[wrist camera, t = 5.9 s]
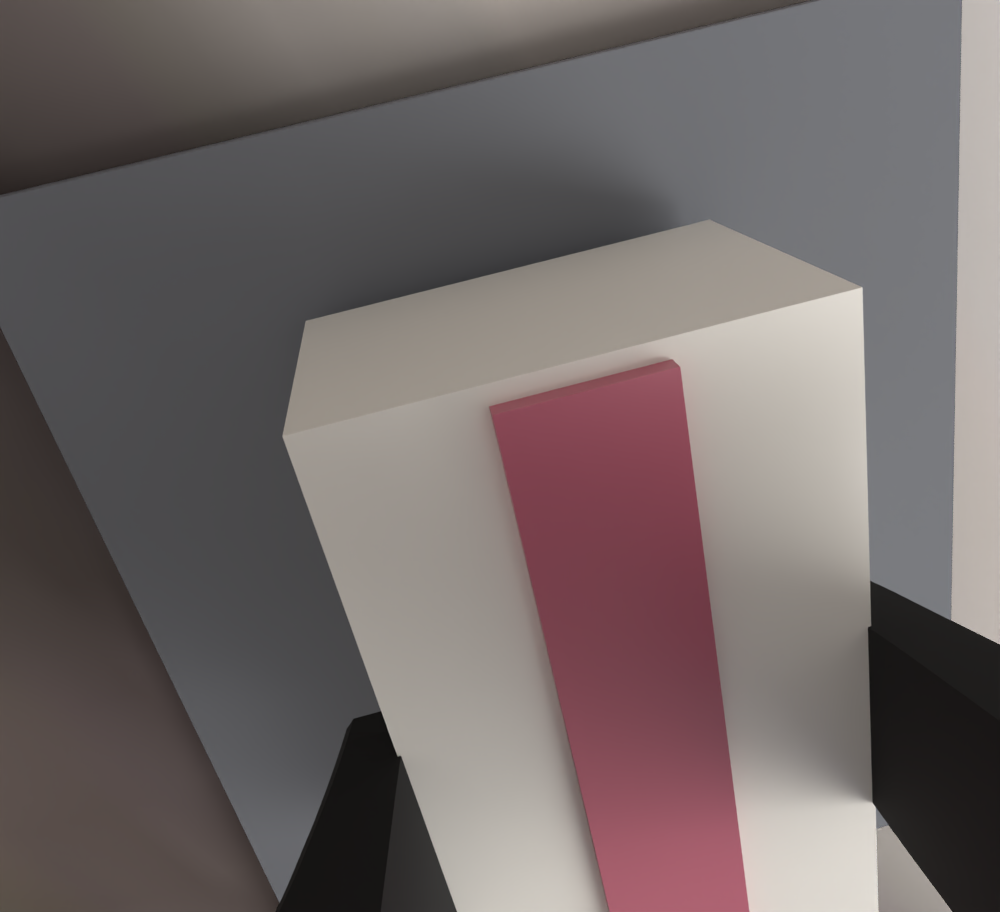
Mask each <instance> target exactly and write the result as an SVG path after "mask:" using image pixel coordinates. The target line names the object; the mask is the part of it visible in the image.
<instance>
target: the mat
mask: <svg viewBox="0 0 1000 912" xmlns="http://www.w3.org/2000/svg"><path fill="white" fill-rule="evenodd" d="M961 18H962V0H810V1H806V2H802V3H798V4H793V5H789V6H785V7H781V8H777V9H773V10H768V11H764V12H760V13H756V14H752V15H748V16H743V17H739V18H735V19H731V20H727V21H723V22H719V23H714V24H710V25H706V26H702V27H698V28H694V29H689V30H685V31H681V32H677V33H673V34H669V35H664V36H660V37H656V38H652V39H648V40H644V41H639V42H635V43H631V44H627V45H623V46H619V47H614V48H610V49H606V50H602V51H598V52H594V53H589V54H585V55H581V56H577V57H573V58H569V59H565V60H560V61H556V62H552V63H548V64H544V65H540V66H535V67H531V68H527V69H523V70H519V71H515V72H510V73H506V74H502V75H498V76H494V77H490V78H485V79H481V80H477V81H473V82H469V83H465V84H460V85H456V86H452V87H448V88H444V89H440V90H435V91H431V92H427V93H423V94H419V95H415V96H411V97H406V98H402V99H398V100H394V101H390V102H386V103H381V104H377V105H373V106H369V107H365V108H361V109H356V110H352V111H348V112H344V113H340V114H336V115H331V116H327V117H323V118H319V119H315V120H311V121H306V122H302V123H298V124H294V125H290V126H286V127H281V128H277V129H273V130H269V131H265V132H261V133H256V134H252V135H248V136H244V137H240V138H236V139H232V140H227V141H223V142H219V143H215V144H211V145H207V146H202V147H198V148H194V149H190V150H186V151H182V152H177V153H173V154H169V155H165V156H161V157H157V158H152V159H148V160H144V161H140V162H136V163H132V164H127V165H123V166H119V167H115V168H111V169H107V170H102V171H98V172H94V173H90V174H86V175H82V176H78V177H73V178H69V179H65V180H61V181H57V182H53V183H48V184H44V185H40V186H36V187H32V188H28V189H23V190H19V191H15V192H11V193H7V194H3V195H0V328H1V330H2V332H3V334H4V336H5V338H6V340H7V342H8V344H9V346H10V348H11V350H12V352H13V355H14V357H15V359H16V361H17V363H18V365H19V367H20V369H21V371H22V373H23V375H24V377H25V379H26V381H27V383H28V385H29V388H30V390H31V392H32V394H33V396H34V398H35V400H36V402H37V404H38V406H39V408H40V410H41V412H42V414H43V416H44V418H45V421H46V423H47V425H48V427H49V429H50V431H51V433H52V435H53V437H54V439H55V441H56V443H57V445H58V447H59V449H60V451H61V454H62V456H63V458H64V460H65V462H66V464H67V466H68V468H69V470H70V472H71V474H72V476H73V478H74V480H75V482H76V484H77V487H78V489H79V491H80V493H81V495H82V497H83V499H84V501H85V503H86V505H87V507H88V509H89V511H90V513H91V515H92V517H93V520H94V522H95V524H96V526H97V528H98V530H99V532H100V534H101V536H102V538H103V540H104V542H105V544H106V546H107V548H108V550H109V553H110V555H111V557H112V559H113V561H114V563H115V565H116V567H117V569H118V571H119V573H120V575H121V577H122V579H123V581H124V583H125V586H126V588H127V590H128V592H129V594H130V596H131V598H132V600H133V602H134V604H135V606H136V608H137V610H138V612H139V614H140V616H141V619H142V621H143V623H144V625H145V627H146V629H147V631H148V633H149V635H150V637H151V639H152V641H153V643H154V645H155V647H156V649H157V652H158V654H159V656H160V658H161V660H162V662H163V664H164V666H165V668H166V670H167V672H168V674H169V676H170V678H171V680H172V682H173V685H174V687H175V689H176V691H177V693H178V695H179V697H180V699H181V701H182V703H183V705H184V707H185V709H186V711H187V713H188V715H189V718H190V720H191V722H192V724H193V726H194V728H195V730H196V732H197V734H198V736H199V738H200V740H201V742H202V744H203V746H204V748H205V751H206V753H207V755H208V757H209V759H210V761H211V763H212V765H213V767H214V769H215V771H216V773H217V775H218V777H219V779H220V781H221V783H222V786H223V788H224V790H225V792H226V794H227V796H228V798H229V800H230V802H231V804H232V806H233V808H234V810H235V812H236V814H237V816H238V819H239V821H240V823H241V825H242V827H243V829H244V831H245V833H246V835H247V837H248V839H249V841H250V843H251V845H252V847H253V849H254V852H255V854H256V856H257V858H258V860H259V862H260V864H261V866H262V868H263V870H264V872H265V874H266V876H267V878H268V880H269V882H270V885H271V887H272V889H273V891H274V893H275V895H276V897H277V899H278V901H279V903H280V901H281V899H282V897H283V895H284V892H285V890H286V888H287V886H288V883H289V881H290V879H291V876H292V874H293V871H294V869H295V867H296V864H297V862H298V859H299V857H300V855H301V852H302V850H303V847H304V845H305V842H306V840H307V838H308V835H309V833H310V830H311V828H312V826H313V823H314V821H315V818H316V815H317V813H318V810H319V807H320V805H321V802H322V800H323V797H324V794H325V792H326V789H327V786H328V783H329V781H330V778H331V775H332V772H333V769H334V766H335V763H336V760H337V757H338V754H339V751H340V748H341V745H342V742H343V739H344V736H345V733H346V729H347V728H348V726H349V725H350V723H351V722H352V720H353V719H354V718H358V717H361V716H365V715H369V714H372V713H376V712H380V711H381V709H380V707H379V704H378V701H377V698H376V695H375V693H374V690H373V687H372V684H371V682H370V679H369V676H368V673H367V670H366V668H365V665H364V662H363V659H362V656H361V654H360V651H359V648H358V645H357V643H356V640H355V637H354V634H353V631H352V629H351V626H350V623H349V620H348V618H347V615H346V612H345V609H344V606H343V604H342V601H341V598H340V595H339V593H338V590H337V587H336V584H335V581H334V579H333V576H332V573H331V570H330V568H329V565H328V562H327V559H326V556H325V554H324V551H323V548H322V545H321V543H320V540H319V537H318V534H317V531H316V529H315V526H314V523H313V520H312V517H311V515H310V512H309V509H308V506H307V504H306V501H305V498H304V495H303V492H302V490H301V487H300V484H299V481H298V479H297V476H296V473H295V470H294V467H293V465H292V462H291V459H290V456H289V454H288V451H287V448H286V445H285V442H284V440H283V437H282V435H283V431H284V426H285V421H286V416H287V411H288V406H289V401H290V396H291V391H292V386H293V381H294V376H295V371H296V366H297V361H298V356H299V351H300V347H301V342H302V337H303V332H304V327H305V322H306V321H307V320H311V319H315V318H319V317H323V316H327V315H331V314H335V313H339V312H343V311H347V310H351V309H355V308H359V307H363V306H367V305H371V304H375V303H379V302H383V301H387V300H391V299H395V298H399V297H403V296H407V295H411V294H415V293H419V292H423V291H427V290H431V289H435V288H439V287H443V286H447V285H451V284H455V283H459V282H463V281H467V280H471V279H475V278H479V277H482V276H486V275H490V274H494V273H498V272H502V271H506V270H510V269H514V268H518V267H522V266H526V265H530V264H534V263H538V262H542V261H546V260H550V259H554V258H558V257H562V256H566V255H570V254H574V253H578V252H582V251H586V250H590V249H594V248H598V247H602V246H606V245H610V244H614V243H618V242H622V241H626V240H630V239H634V238H638V237H642V236H646V235H650V234H654V233H658V232H662V231H666V230H670V229H674V228H678V227H682V226H686V225H690V224H694V223H698V222H702V221H706V220H712V221H714V222H716V223H718V224H721V225H723V226H725V227H727V228H730V229H732V230H734V231H736V232H739V233H741V234H743V235H745V236H748V237H750V238H752V239H754V240H757V241H759V242H761V243H764V244H766V245H768V246H770V247H773V248H775V249H777V250H779V251H782V252H784V253H786V254H788V255H791V256H793V257H795V258H797V259H800V260H802V261H804V262H806V263H809V264H811V265H813V266H815V267H818V268H820V269H822V270H824V271H827V272H829V273H831V274H834V275H836V276H838V277H840V278H843V279H845V280H847V281H849V282H852V283H854V284H856V285H858V286H861V287H863V325H864V365H865V404H866V443H867V482H868V522H869V561H870V581H872V582H874V583H876V584H879V585H881V586H883V587H885V588H887V589H889V590H891V591H893V592H895V593H897V594H899V595H901V596H903V597H905V598H907V599H909V600H911V601H913V602H915V603H917V604H919V605H921V606H923V607H925V608H927V609H929V610H931V611H933V612H935V613H937V614H939V615H941V616H943V617H945V618H947V619H949V620H951V592H952V534H953V477H954V419H955V362H956V305H957V247H958V190H959V133H960V75H961ZM887 825H888V824H887V822H886V821H885V819H884V818H883V817H882V815H881V814H880V812H879V811H878V810H877V808H876V829H877V828H880V827H884V826H887Z"/></svg>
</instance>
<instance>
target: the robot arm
mask: <svg viewBox="0 0 1000 912" xmlns="http://www.w3.org/2000/svg"><path fill="white" fill-rule="evenodd" d="M870 600H871V626H870V627H868V652H869V690H870V728H871V766H872V803H873V804H874V806H875V807H876V808H877V810H878V811H879V812H880V814H881V815H882V817H883V818H884V819H885V821H886V822H887V824H888V825H889V826H890V828H891V829H892V830H893V832H894V833H895V834H896V836H897V837H898V839H899V840H900V841H901V843H902V844H903V845H904V847H905V848H906V849H907V851H908V852H909V854H910V855H911V856H912V858H913V859H914V860H915V862H916V863H917V864H918V866H919V867H920V868H921V870H922V871H923V873H924V874H925V875H926V877H927V878H928V879H929V881H930V882H931V883H932V885H933V886H934V887H935V889H936V890H937V891H938V893H939V894H940V895H941V897H942V898H943V899H944V901H945V902H946V903H947V905H948V906H949V908H950V909H951V910H952V912H1000V645H999V644H997V643H995V642H993V641H991V640H989V639H987V638H985V637H983V636H981V635H979V634H977V633H975V632H973V631H971V630H969V629H967V628H965V627H963V626H961V625H959V624H957V623H955V622H953V621H951V620H949V619H947V618H945V617H943V616H941V615H939V614H937V613H935V612H933V611H931V610H929V609H927V608H925V607H923V606H921V605H919V604H917V603H915V602H913V601H911V600H909V599H907V598H905V597H903V596H901V595H899V594H897V593H895V592H893V591H891V590H889V589H887V588H885V587H883V586H881V585H879V584H876V583H874V582H872V581H870ZM276 912H457V910H456V908H455V905H454V902H453V899H452V896H451V894H450V891H449V888H448V885H447V882H446V880H445V877H444V874H443V871H442V869H441V866H440V863H439V860H438V857H437V855H436V852H435V849H434V846H433V843H432V841H431V838H430V835H429V832H428V829H427V827H426V824H425V821H424V818H423V815H422V813H421V810H420V807H419V804H418V802H417V799H416V796H415V793H414V790H413V788H412V785H411V782H410V779H409V776H408V774H407V771H406V768H405V765H404V762H403V760H402V757H401V756H398V757H397V754H396V751H395V748H394V745H393V743H392V740H391V737H390V734H389V732H388V729H387V726H386V723H385V720H384V718H383V715H382V712H381V711H380V712H376V713H372V714H369V715H365V716H361V717H358V718H354V719H353V720H352V722H351V723H350V725H349V726H348V728H347V729H346V733H345V736H344V739H343V742H342V745H341V748H340V751H339V754H338V757H337V760H336V763H335V766H334V769H333V772H332V775H331V778H330V781H329V783H328V786H327V789H326V792H325V794H324V797H323V800H322V802H321V805H320V807H319V810H318V813H317V815H316V818H315V821H314V823H313V826H312V828H311V830H310V833H309V835H308V838H307V840H306V842H305V845H304V847H303V850H302V852H301V855H300V857H299V859H298V862H297V864H296V867H295V869H294V871H293V874H292V876H291V879H290V881H289V883H288V886H287V888H286V890H285V892H284V895H283V897H282V899H281V901H280V903H279V905H278V907H277V910H276Z"/></svg>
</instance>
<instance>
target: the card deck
mask: <svg viewBox="0 0 1000 912" xmlns="http://www.w3.org/2000/svg"><path fill="white" fill-rule="evenodd" d="M282 437H283V440H284V442H285V445H286V448H287V451H288V454H289V456H290V459H291V462H292V465H293V467H294V470H295V473H296V476H297V479H298V481H299V484H300V487H301V490H302V492H303V495H304V498H305V501H306V504H307V506H308V509H309V512H310V515H311V517H312V520H313V523H314V526H315V529H316V531H317V534H318V537H319V540H320V543H321V545H322V548H323V551H324V554H325V556H326V559H327V562H328V565H329V568H330V570H331V573H332V576H333V579H334V581H335V584H336V587H337V590H338V593H339V595H340V598H341V601H342V604H343V606H344V609H345V612H346V615H347V618H348V620H349V623H350V626H351V629H352V631H353V634H354V637H355V640H356V643H357V645H358V648H359V651H360V654H361V656H362V659H363V662H364V665H365V668H366V670H367V673H368V676H369V679H370V682H371V684H372V687H373V690H374V693H375V695H376V698H377V701H378V704H379V707H380V709H381V712H382V715H383V718H384V720H385V723H386V726H387V729H388V732H389V734H390V737H391V740H392V743H393V745H394V748H395V751H396V754H397V757H398V756H401V757H402V760H403V762H404V765H405V768H406V771H407V774H408V776H409V779H410V782H411V785H412V788H413V790H414V793H415V796H416V799H417V802H418V804H419V807H420V810H421V813H422V815H423V818H424V821H425V824H426V827H427V829H428V832H429V835H430V838H431V841H432V843H433V846H434V849H435V852H436V855H437V857H438V860H439V863H440V866H441V869H442V871H443V874H444V877H445V880H446V882H447V885H448V888H449V891H450V894H451V896H452V899H453V902H454V905H455V908H456V910H457V912H878V875H877V836H876V807H875V806H874V804H873V803H872V766H871V728H870V690H869V652H868V627H870V626H871V600H870V561H869V522H868V482H867V443H866V404H865V365H864V325H863V287H861V286H858V285H856V284H854V283H852V282H849V281H847V280H845V279H843V278H840V277H838V276H836V275H834V274H831V273H829V272H827V271H824V270H822V269H820V268H818V267H815V266H813V265H811V264H809V263H806V262H804V261H802V260H800V259H797V258H795V257H793V256H791V255H788V254H786V253H784V252H782V251H779V250H777V249H775V248H773V247H770V246H768V245H766V244H764V243H761V242H759V241H757V240H754V239H752V238H750V237H748V236H745V235H743V234H741V233H739V232H736V231H734V230H732V229H730V228H727V227H725V226H723V225H721V224H718V223H716V222H714V221H712V220H706V221H702V222H698V223H694V224H690V225H686V226H682V227H678V228H674V229H670V230H666V231H662V232H658V233H654V234H650V235H646V236H642V237H638V238H634V239H630V240H626V241H622V242H618V243H614V244H610V245H606V246H602V247H598V248H594V249H590V250H586V251H582V252H578V253H574V254H570V255H566V256H562V257H558V258H554V259H550V260H546V261H542V262H538V263H534V264H530V265H526V266H522V267H518V268H514V269H510V270H506V271H502V272H498V273H494V274H490V275H486V276H482V277H479V278H475V279H471V280H467V281H463V282H459V283H455V284H451V285H447V286H443V287H439V288H435V289H431V290H427V291H423V292H419V293H415V294H411V295H407V296H403V297H399V298H395V299H391V300H387V301H383V302H379V303H375V304H371V305H367V306H363V307H359V308H355V309H351V310H347V311H343V312H339V313H335V314H331V315H327V316H323V317H319V318H315V319H311V320H307V321H306V322H305V327H304V332H303V337H302V342H301V347H300V351H299V356H298V361H297V366H296V371H295V376H294V381H293V386H292V391H291V396H290V401H289V406H288V411H287V416H286V421H285V426H284V431H283V435H282Z"/></svg>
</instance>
